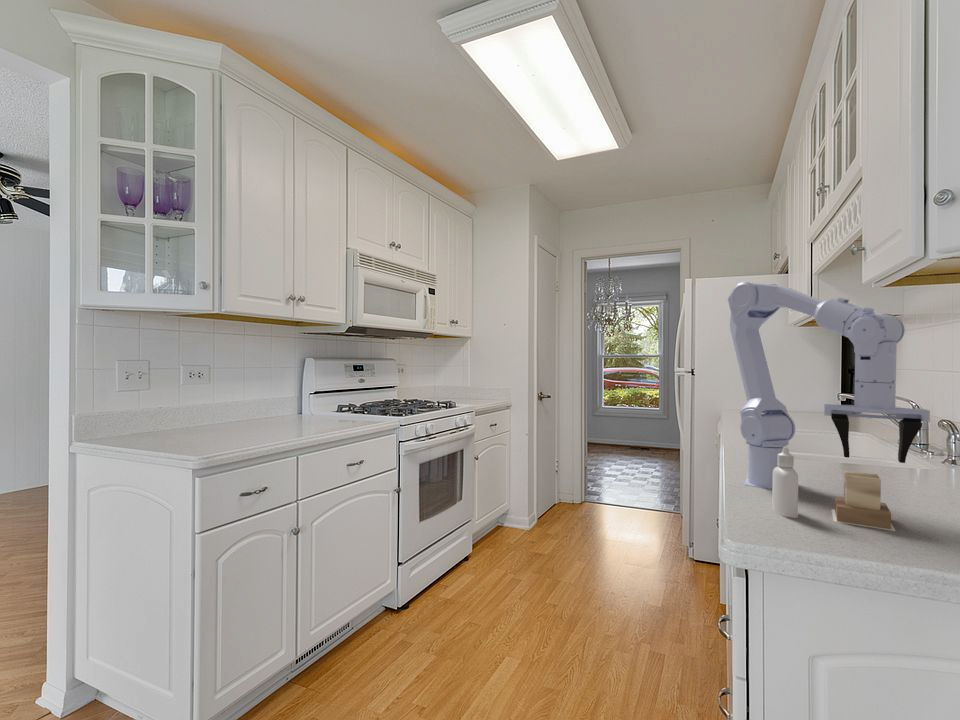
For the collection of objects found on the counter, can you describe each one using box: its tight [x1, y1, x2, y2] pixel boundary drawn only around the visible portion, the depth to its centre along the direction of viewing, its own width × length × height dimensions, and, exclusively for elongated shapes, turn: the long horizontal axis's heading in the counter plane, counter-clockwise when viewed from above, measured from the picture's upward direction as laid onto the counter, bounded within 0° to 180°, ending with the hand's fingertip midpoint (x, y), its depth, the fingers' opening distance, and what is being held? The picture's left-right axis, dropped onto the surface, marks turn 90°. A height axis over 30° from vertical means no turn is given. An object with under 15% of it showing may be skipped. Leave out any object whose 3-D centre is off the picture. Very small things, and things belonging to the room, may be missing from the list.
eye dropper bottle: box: [771, 446, 799, 519], centre depth 88 cm, size 4×6×12 cm
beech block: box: [843, 470, 882, 510], centre depth 85 cm, size 4×4×5 cm
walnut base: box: [834, 495, 892, 529], centre depth 85 cm, size 7×7×2 cm
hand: (873, 459), depth 89 cm, fingers open, 7 cm apart
